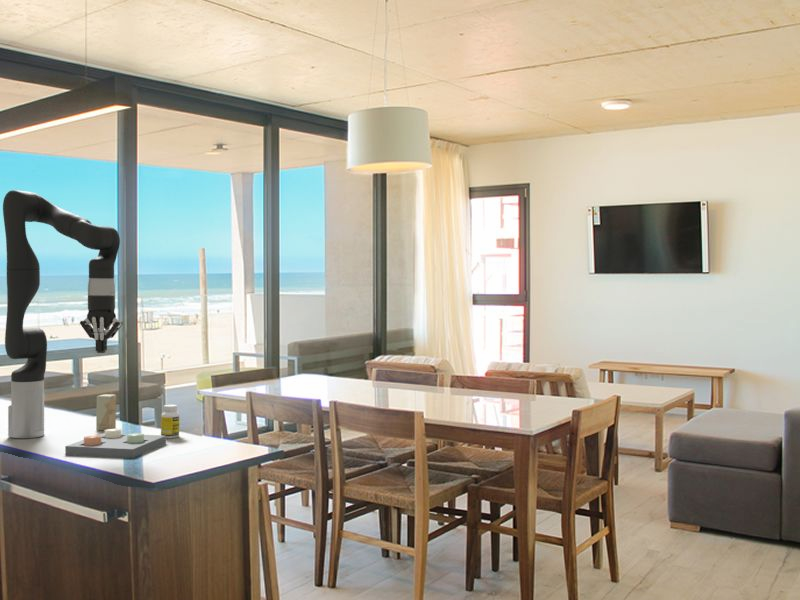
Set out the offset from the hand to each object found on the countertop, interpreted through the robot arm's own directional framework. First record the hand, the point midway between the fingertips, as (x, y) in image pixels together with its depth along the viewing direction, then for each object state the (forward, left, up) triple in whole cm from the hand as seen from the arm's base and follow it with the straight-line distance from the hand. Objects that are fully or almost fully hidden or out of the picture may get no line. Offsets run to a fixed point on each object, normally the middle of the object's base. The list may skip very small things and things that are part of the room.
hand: (101, 352), depth 237 cm
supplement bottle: (+15, +14, -27) cm, 34 cm away
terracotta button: (+4, -12, -27) cm, 29 cm away
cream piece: (+4, -1, -27) cm, 27 cm away
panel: (+9, -6, -27) cm, 29 cm away
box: (-11, +22, -27) cm, 37 cm away
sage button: (+14, -6, -27) cm, 31 cm away
